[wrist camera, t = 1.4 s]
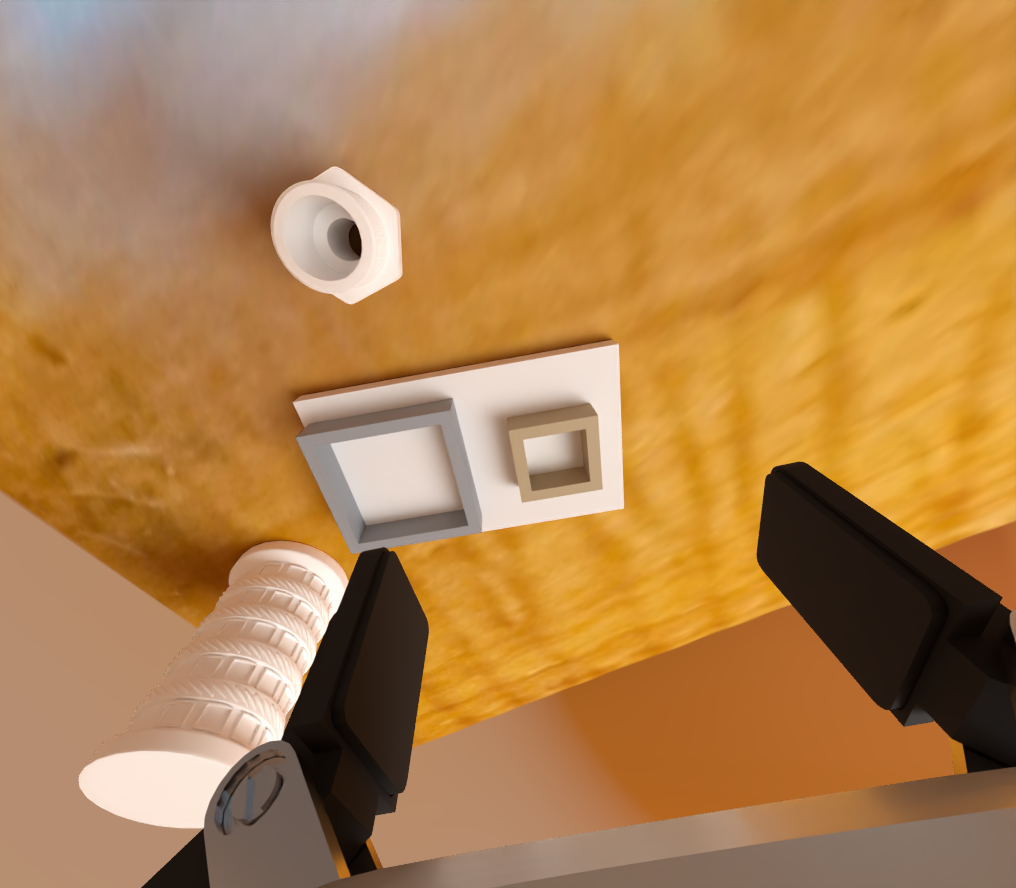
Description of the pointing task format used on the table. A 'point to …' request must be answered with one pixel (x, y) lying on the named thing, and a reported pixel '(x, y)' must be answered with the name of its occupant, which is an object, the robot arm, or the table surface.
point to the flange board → (469, 447)
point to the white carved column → (221, 689)
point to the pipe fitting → (337, 236)
